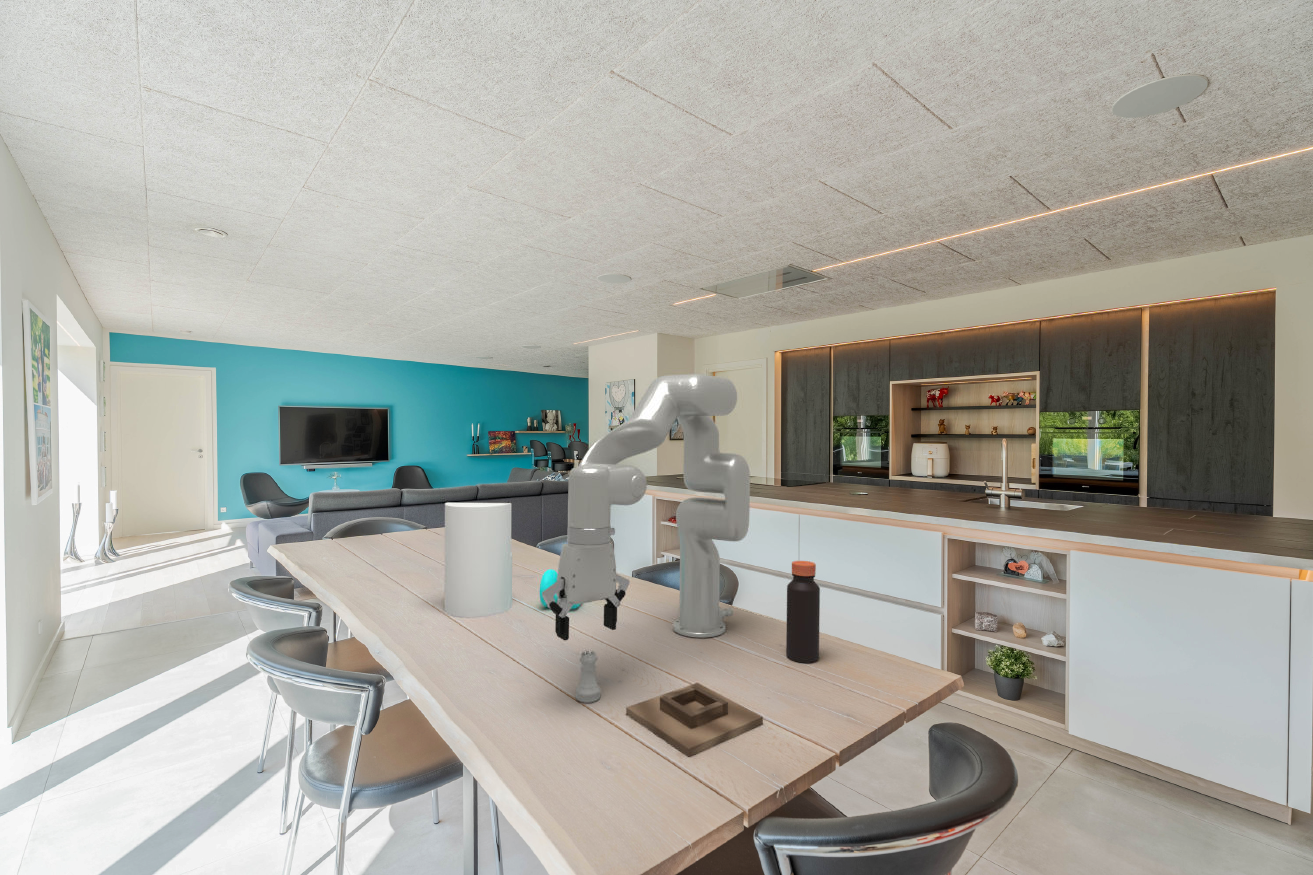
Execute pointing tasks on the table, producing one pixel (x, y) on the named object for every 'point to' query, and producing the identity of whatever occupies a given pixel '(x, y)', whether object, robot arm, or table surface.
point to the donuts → (547, 581)
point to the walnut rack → (694, 718)
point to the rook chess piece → (588, 679)
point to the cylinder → (478, 559)
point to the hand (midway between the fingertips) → (586, 632)
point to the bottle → (803, 614)
